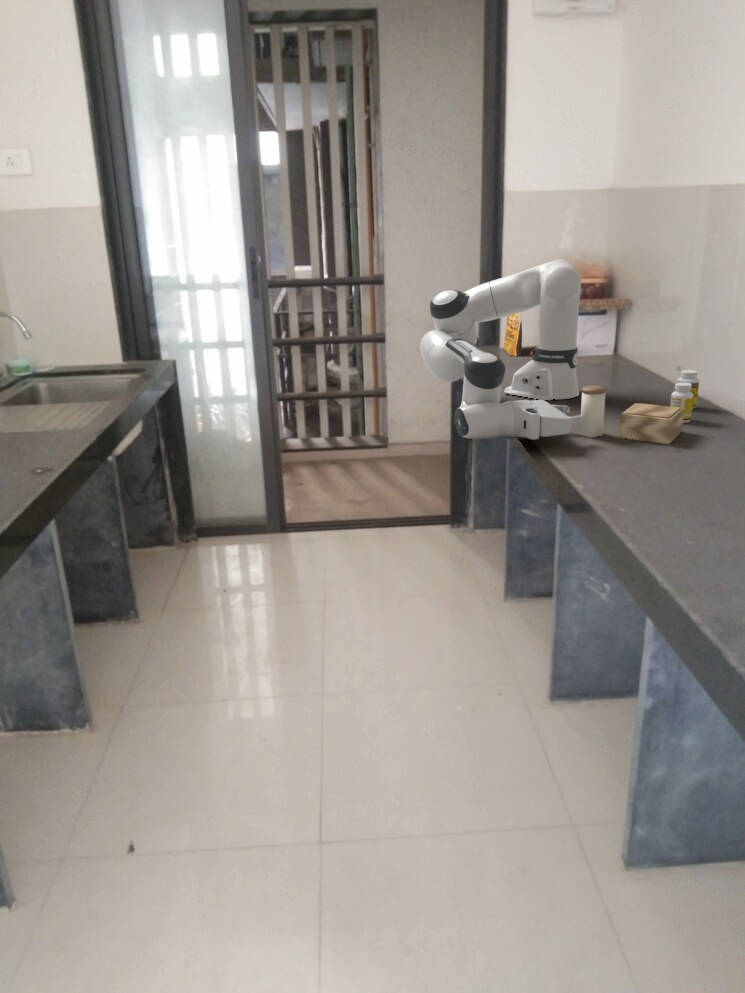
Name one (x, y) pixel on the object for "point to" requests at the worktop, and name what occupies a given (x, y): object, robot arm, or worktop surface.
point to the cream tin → (592, 410)
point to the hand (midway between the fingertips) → (575, 414)
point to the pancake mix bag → (513, 334)
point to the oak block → (651, 423)
